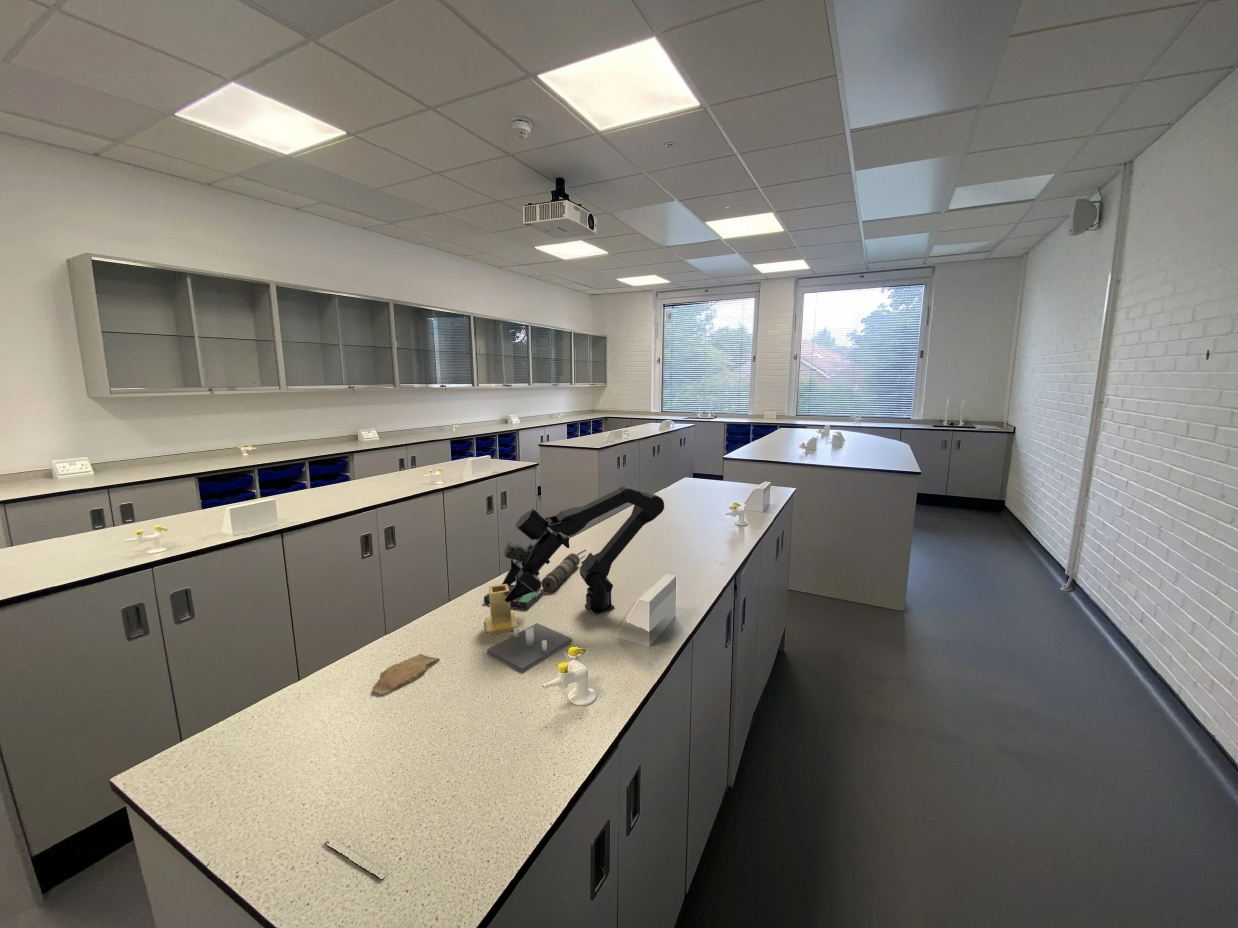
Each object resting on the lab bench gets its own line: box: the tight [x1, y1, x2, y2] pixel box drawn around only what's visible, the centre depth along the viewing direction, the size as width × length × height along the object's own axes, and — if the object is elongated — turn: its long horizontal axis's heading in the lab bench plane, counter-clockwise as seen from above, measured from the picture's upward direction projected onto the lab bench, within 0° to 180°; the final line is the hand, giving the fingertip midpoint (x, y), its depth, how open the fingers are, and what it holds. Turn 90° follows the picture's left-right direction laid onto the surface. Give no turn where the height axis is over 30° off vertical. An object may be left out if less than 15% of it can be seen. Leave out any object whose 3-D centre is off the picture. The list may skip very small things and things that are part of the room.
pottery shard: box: [371, 653, 440, 696], centre depth 108 cm, size 8×16×2 cm, turn 144°
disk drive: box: [483, 583, 544, 611], centre depth 145 cm, size 10×3×15 cm
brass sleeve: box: [484, 583, 519, 636], centre depth 129 cm, size 8×8×10 cm
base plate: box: [486, 622, 573, 673], centre depth 118 cm, size 16×13×5 cm
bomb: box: [541, 549, 587, 592], centre depth 165 cm, size 5×34×5 cm, turn 164°
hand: (504, 593), depth 128 cm, fingers open, 9 cm apart
